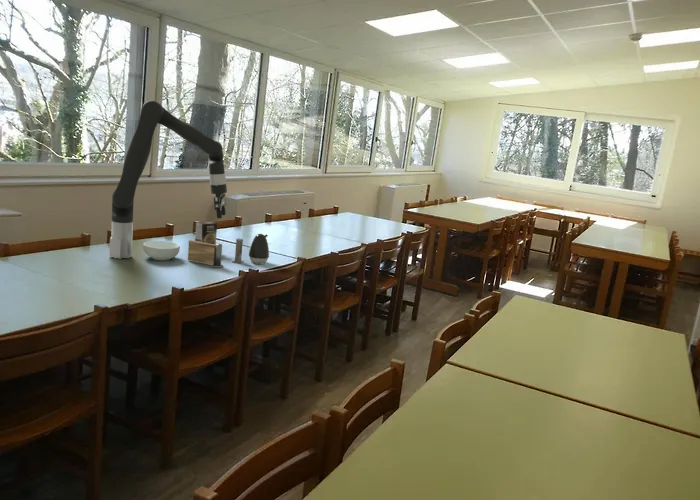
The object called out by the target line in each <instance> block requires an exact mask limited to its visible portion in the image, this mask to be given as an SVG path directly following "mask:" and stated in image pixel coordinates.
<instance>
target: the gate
mask: <svg viewBox="0 0 700 500" xmlns="http://www.w3.org/2000/svg"><path fill="white" fill-rule="evenodd" d="M187 252H188V253H187V260H188V261H191V262H196V263H201V264H206V265H211V266H212V265H215V255H216V245H214V244H209V243H204V242H198V241H195V240H193V239H190V240H188V251H187Z"/></svg>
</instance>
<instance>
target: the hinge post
mask: <svg viewBox="0 0 700 500" xmlns="http://www.w3.org/2000/svg"><path fill="white" fill-rule="evenodd" d="M222 253H223V244H222V243H216V255H215V265H211V266H212V268H216V269H221V268H224V264H222Z"/></svg>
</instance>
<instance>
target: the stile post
mask: <svg viewBox="0 0 700 500" xmlns="http://www.w3.org/2000/svg"><path fill="white" fill-rule="evenodd" d="M243 243H244V238H240V237H239V238H236V242H235V253H234V254H235V255H234V259H233V260H232V261H231V263H234V264H238V265H240V264H242V263H244V262H245V260H242V255H243Z"/></svg>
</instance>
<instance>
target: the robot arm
mask: <svg viewBox="0 0 700 500" xmlns="http://www.w3.org/2000/svg"><path fill="white" fill-rule="evenodd" d="M158 124H159V125H161V126H163V127H165V128H167V129H169V130H170V131H172V132H174V133H175V134H177V135H178V136H179V137H181V138H182V139H184V140H185V141H187V142H189V143H190V144H192V145H194V146H195V147H198V148H199V149H201V151H203V152H205V153H206V154H208V162H209V164H208V169H209V170H208V171H209V186H210V193H211V194H213V195H215V196H213V204H214V211H216V218H217V219H222V218H223V216H226V206H227V200H226V193H228V190H227V189H228V187H227V179H226V173H225V165H224V152H223V151H224V149H223V145H222V144H221V142H219V141H217V140H214V139H213V138H210V137H209V136H207V135H206V134H205V133H204V132H202V131H200V130H199V129H197V128H196V127H194V126H193V125H191V124H189V123H187V122H185V121H183V120H181V119H179V118H178V117H176V116H175V115H173V114H172V113H171V112H169V110H167V109H166V108H165V107H163V105H162V104H161V103H159V102H158V101H155V100H148V101H145V102H144V104H143V105H142V106H141V110H140V114H139V118H138V124H137V127H136V129H135V132H134V134H133V136H132V139H131V141H130V144H129V146H128V149H127V151H126V155H125V158H124V161H123V162H124V163H123V167H122V173H121V177H120V180H119V182H118V183H117V186H116V188H115V189H114V190H113V192H112V194H111V195H112V196H111V200H112V201H111V202H112V203H111V231H110V232H111V236H110V238H109V256H110V257H109V256H108V257H109V258H112V257H114V258H113V259H117V258H118V260H122V258H127V259H131V258H132V255H133V234H134V233H133V227H134V226H133V225H134V200H135V195H136V189H137V186H138V183H139V180H140V178H141V176H142V174H143V172H144V170H145V168H146V165H147V162H148V160H149V156H150V154H151V150H152V149H151V148H152V144H153V137H154V134H155V130H156V128H157V125H158ZM130 257H131V258H130Z"/></svg>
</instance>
